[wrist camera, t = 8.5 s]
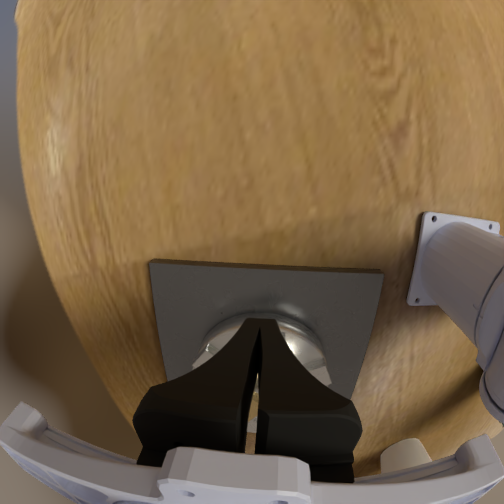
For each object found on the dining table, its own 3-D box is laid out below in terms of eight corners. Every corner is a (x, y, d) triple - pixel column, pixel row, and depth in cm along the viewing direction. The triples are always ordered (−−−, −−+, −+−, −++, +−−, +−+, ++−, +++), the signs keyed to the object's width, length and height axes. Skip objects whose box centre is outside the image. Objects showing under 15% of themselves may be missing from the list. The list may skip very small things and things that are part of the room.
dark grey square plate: (380, 269, 21) (384, 274, 20) (339, 419, 26) (340, 426, 25) (154, 258, 22) (148, 263, 21) (178, 409, 27) (175, 416, 26)
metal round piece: (248, 285, 21) (235, 346, 14) (350, 356, 22) (370, 420, 15) (159, 387, 25) (134, 441, 18) (247, 434, 26) (240, 489, 19)
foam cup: (435, 423, 26) (464, 494, 14) (422, 453, 29) (442, 514, 17) (372, 444, 28) (389, 524, 15) (367, 471, 30) (378, 537, 18)
